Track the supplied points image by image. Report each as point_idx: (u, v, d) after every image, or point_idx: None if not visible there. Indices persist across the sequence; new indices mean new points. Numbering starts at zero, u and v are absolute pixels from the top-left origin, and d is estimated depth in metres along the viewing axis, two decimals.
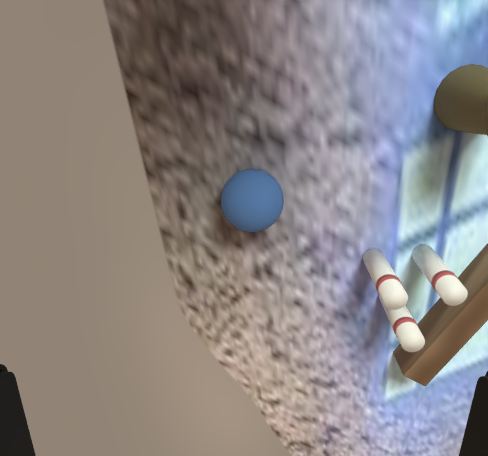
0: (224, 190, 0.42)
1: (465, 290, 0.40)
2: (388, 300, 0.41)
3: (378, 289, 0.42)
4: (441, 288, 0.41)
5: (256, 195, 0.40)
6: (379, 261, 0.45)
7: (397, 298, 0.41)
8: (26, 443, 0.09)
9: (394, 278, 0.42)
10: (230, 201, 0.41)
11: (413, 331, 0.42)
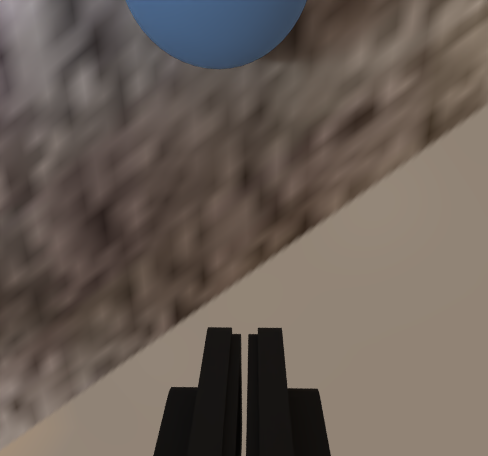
0: (223, 66, 0.14)
1: None
2: None
3: None
4: None
5: None
6: None
7: None
8: (241, 400, 0.10)
9: None
10: (228, 35, 0.13)
11: None
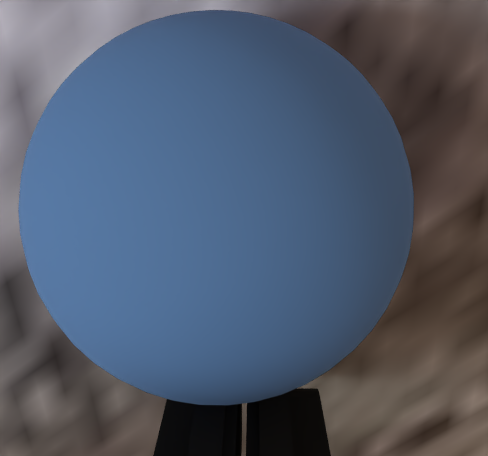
0: (239, 393, 0.06)
1: None
2: None
3: None
4: None
5: (83, 153, 0.05)
6: None
7: None
8: None
9: None
10: (257, 301, 0.05)
11: None
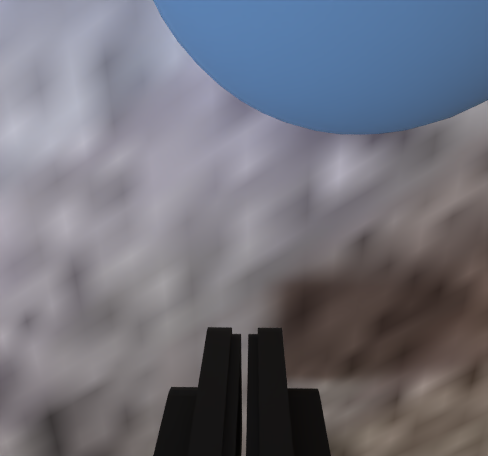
0: None
1: None
2: None
3: None
4: None
5: None
6: None
7: None
8: (241, 400, 0.10)
9: None
10: None
11: None
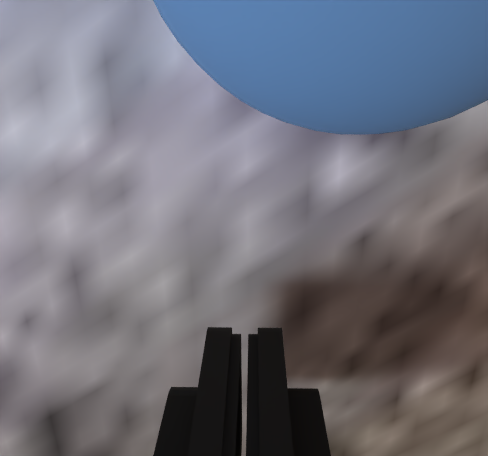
0: None
1: None
2: None
3: None
4: None
5: None
6: None
7: None
8: (241, 400, 0.10)
9: None
10: None
11: None
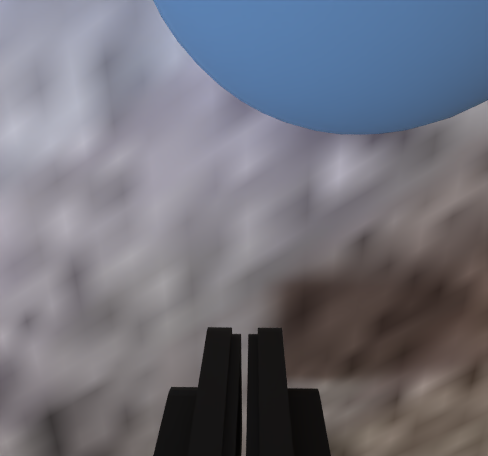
0: None
1: None
2: None
3: None
4: None
5: None
6: None
7: None
8: (241, 400, 0.10)
9: None
10: None
11: None
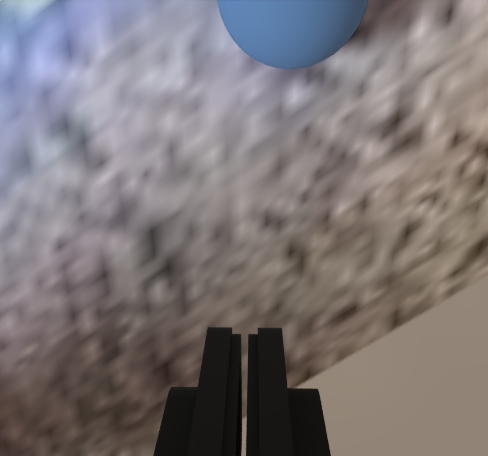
0: None
1: None
2: None
3: None
4: None
5: None
6: None
7: None
8: (241, 400, 0.10)
9: None
10: None
11: None
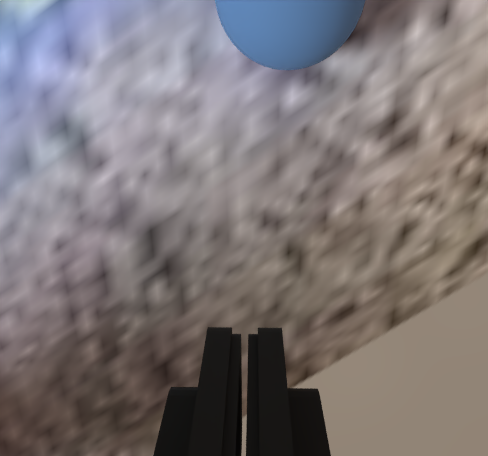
0: None
1: None
2: None
3: None
4: None
5: None
6: None
7: None
8: (241, 400, 0.10)
9: None
10: None
11: None
